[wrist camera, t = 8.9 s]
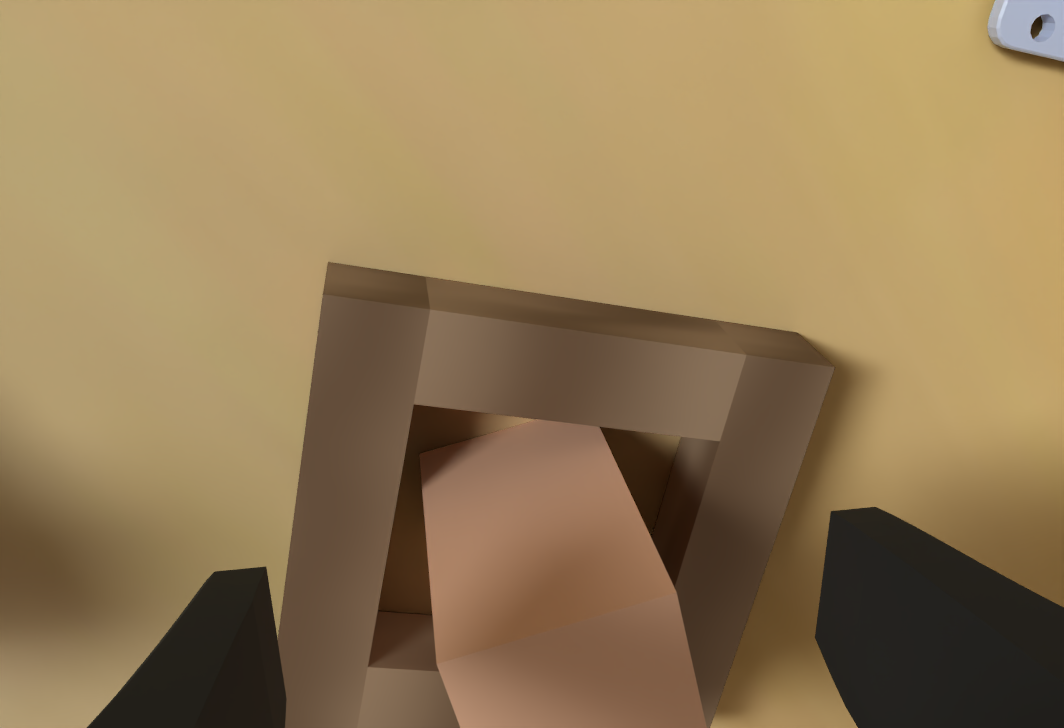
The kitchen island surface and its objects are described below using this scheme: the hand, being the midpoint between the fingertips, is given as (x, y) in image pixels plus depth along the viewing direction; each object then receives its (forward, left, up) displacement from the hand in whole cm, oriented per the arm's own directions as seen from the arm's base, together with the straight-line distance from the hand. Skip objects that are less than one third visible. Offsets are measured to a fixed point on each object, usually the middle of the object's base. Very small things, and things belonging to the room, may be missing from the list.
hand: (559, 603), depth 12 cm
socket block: (-2, +4, -9) cm, 10 cm away
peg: (-2, +4, -9) cm, 10 cm away
